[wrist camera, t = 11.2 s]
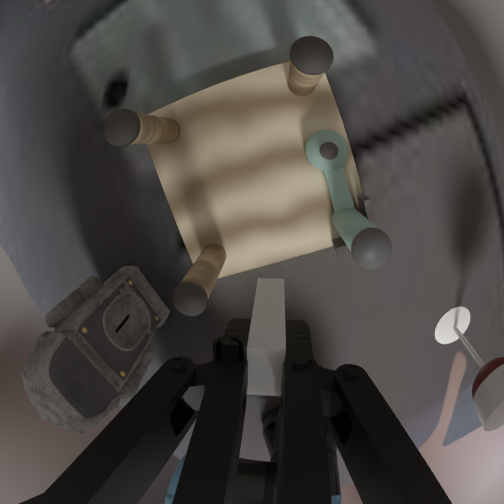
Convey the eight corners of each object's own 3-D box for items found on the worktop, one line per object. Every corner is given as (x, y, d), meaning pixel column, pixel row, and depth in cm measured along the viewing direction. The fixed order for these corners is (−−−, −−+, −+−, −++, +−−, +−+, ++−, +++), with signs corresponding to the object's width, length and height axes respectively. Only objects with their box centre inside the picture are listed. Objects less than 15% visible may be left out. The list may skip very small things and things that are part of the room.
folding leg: (299, 137, 30) (309, 132, 20) (337, 126, 29) (364, 117, 19) (331, 237, 33) (352, 276, 23) (366, 226, 33) (399, 260, 23)
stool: (366, 228, 36) (407, 272, 23) (205, 274, 40) (174, 333, 27) (314, 60, 29) (334, 15, 16) (146, 120, 33) (84, 113, 20)
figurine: (126, 248, 40) (4, 352, 16) (183, 324, 43) (117, 463, 20) (89, 277, 42) (-16, 372, 19) (141, 344, 46) (72, 461, 22)
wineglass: (424, 343, 41) (472, 433, 22) (449, 299, 38) (516, 381, 19) (455, 349, 41) (503, 428, 22) (479, 308, 38) (542, 381, 19)
